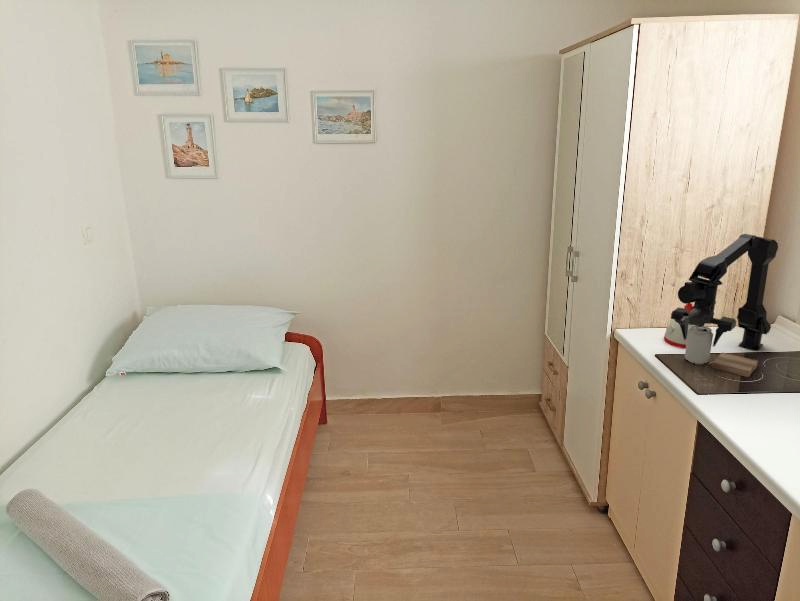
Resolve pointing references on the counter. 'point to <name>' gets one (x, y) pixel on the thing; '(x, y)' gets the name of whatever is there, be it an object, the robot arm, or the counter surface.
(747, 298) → the robot arm
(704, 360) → the can
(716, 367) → the brown flat square block
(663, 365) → the counter surface
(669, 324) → the kitchen timer
